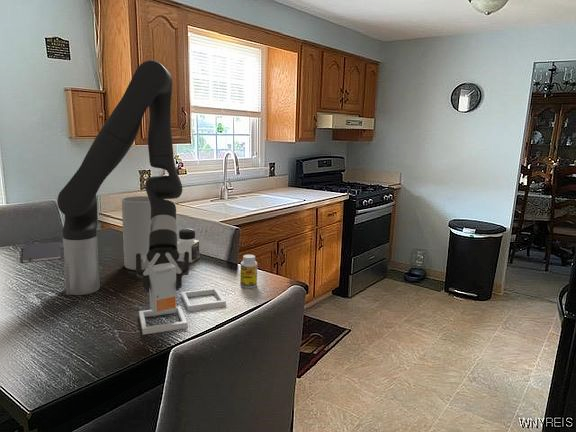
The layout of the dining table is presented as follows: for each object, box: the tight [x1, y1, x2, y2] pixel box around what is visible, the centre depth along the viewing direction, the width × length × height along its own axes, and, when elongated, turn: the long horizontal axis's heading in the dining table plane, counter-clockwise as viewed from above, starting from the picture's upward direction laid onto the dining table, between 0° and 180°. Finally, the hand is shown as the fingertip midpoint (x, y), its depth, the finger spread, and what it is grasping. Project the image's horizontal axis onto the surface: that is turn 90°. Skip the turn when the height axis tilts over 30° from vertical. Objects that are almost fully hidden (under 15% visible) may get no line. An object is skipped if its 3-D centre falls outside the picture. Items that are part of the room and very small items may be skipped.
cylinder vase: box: [121, 195, 151, 271], centre depth 151 cm, size 12×12×25 cm
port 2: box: [180, 287, 227, 312], centre depth 125 cm, size 11×13×2 cm
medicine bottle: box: [176, 228, 200, 263], centre depth 162 cm, size 7×7×12 cm
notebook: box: [21, 241, 63, 263], centre depth 164 cm, size 13×2×21 cm
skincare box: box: [148, 263, 178, 314], centre depth 109 cm, size 6×4×12 cm
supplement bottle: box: [239, 254, 258, 289], centre depth 138 cm, size 6×6×10 cm
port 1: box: [138, 305, 188, 336], centre depth 111 cm, size 11×13×2 cm
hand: (162, 290), depth 107 cm, fingers closed on skincare box, 7 cm apart
